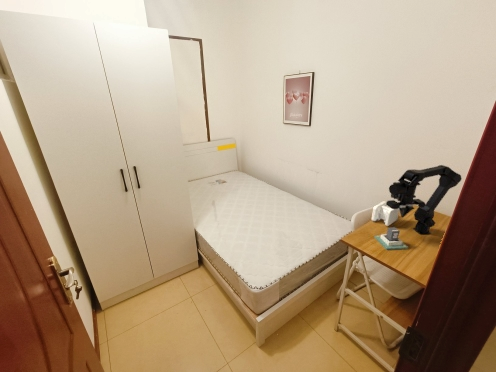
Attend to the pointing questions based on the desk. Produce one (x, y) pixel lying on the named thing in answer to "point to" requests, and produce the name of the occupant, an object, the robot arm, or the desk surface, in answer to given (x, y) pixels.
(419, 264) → the desk surface
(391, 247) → the board
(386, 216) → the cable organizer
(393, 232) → the plug
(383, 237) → the socket
